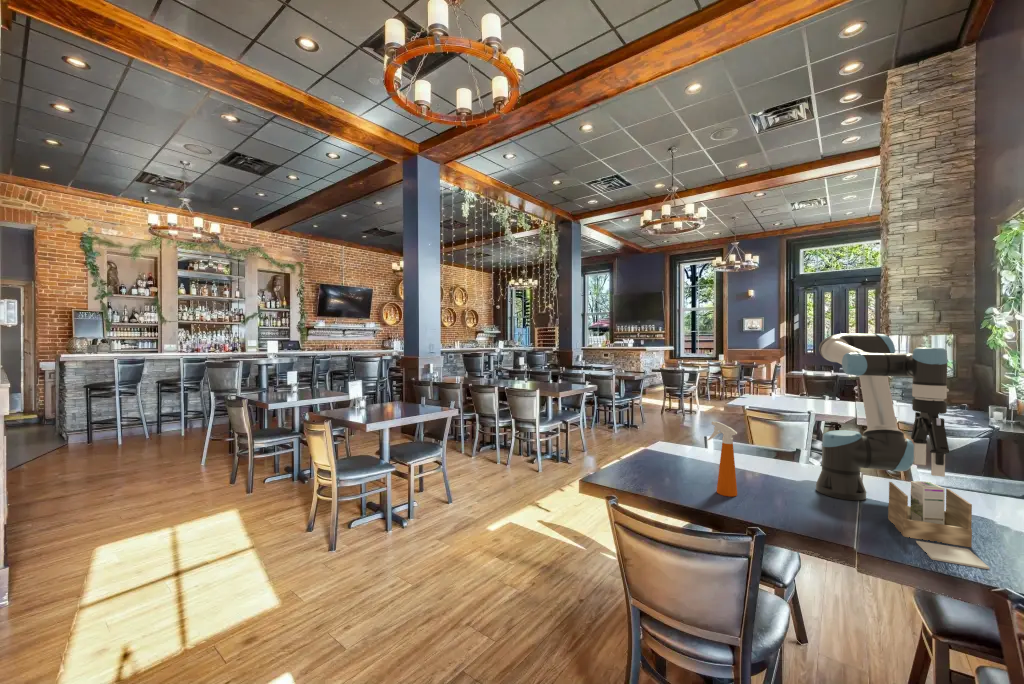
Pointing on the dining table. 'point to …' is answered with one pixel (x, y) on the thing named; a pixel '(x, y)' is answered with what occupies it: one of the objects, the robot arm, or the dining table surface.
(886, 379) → the robot arm
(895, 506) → the wooden holder
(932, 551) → the mat
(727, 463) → the spray bottle
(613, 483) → the dining table surface
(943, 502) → the syrup box
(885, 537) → the dining table surface
